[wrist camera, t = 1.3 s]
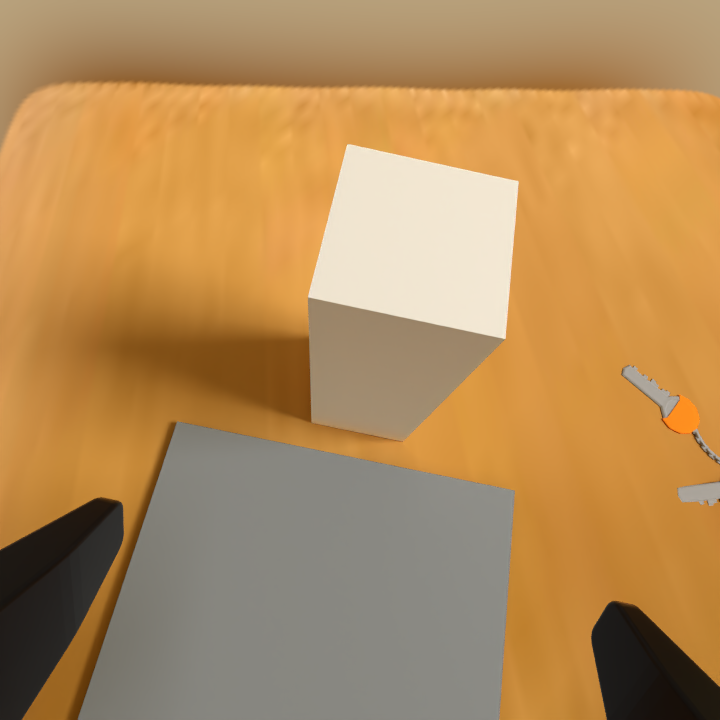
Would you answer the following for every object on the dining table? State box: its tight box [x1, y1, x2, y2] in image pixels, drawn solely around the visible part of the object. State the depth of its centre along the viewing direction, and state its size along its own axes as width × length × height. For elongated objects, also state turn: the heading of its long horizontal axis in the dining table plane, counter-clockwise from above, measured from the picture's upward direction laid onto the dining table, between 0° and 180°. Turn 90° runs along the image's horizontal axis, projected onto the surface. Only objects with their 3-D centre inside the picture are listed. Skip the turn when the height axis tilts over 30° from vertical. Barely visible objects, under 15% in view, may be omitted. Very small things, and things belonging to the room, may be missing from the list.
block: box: [308, 144, 519, 442], centre depth 17 cm, size 4×4×13 cm
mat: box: [78, 421, 515, 720], centre depth 19 cm, size 16×16×1 cm
